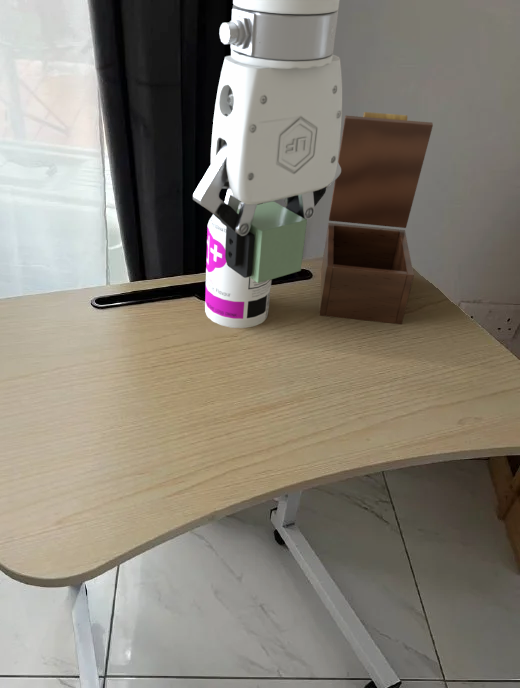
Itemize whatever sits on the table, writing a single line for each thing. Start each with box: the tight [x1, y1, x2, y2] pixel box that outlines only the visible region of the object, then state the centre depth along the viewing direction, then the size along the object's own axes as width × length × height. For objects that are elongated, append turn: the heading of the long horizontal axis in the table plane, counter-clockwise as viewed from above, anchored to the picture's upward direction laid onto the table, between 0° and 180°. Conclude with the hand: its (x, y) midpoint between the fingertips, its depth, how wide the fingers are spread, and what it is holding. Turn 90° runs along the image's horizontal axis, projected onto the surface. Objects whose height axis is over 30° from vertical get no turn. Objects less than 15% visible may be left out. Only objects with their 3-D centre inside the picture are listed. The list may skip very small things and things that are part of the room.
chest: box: [318, 222, 415, 325], centre depth 89 cm, size 14×11×9 cm
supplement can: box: [204, 201, 272, 329], centre depth 82 cm, size 8×8×15 cm
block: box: [237, 200, 308, 283], centre depth 58 cm, size 5×5×5 cm
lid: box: [328, 111, 434, 229], centre depth 88 cm, size 14×11×6 cm
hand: (264, 262), depth 59 cm, fingers closed on block, 4 cm apart
